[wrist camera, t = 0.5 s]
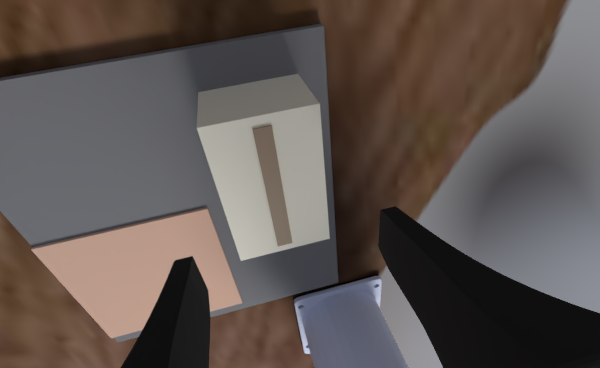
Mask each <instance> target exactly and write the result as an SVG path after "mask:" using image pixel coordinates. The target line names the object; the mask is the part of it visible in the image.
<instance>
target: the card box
mask: <svg viewBox="0 0 600 368" xmlns="http://www.w3.org/2000/svg"><path fill="white" fill-rule="evenodd" d="M197 131H198V134H199V137H200V140H201V143H202V146H203V149H204V152H205V155H206V158H207V161H208V164H209V167H210V170H211V173H212V176H213V179H214V182H215V185H216V188H217V191H218V194H219V197H220V200H221V203H222V206H223V209H224V212H225V215H226V218H227V221H228V224H229V227H230V230H231V233H232V236H233V239H234V242H235V245H236V248H237V251H238V254H239V257H240V260H241V261H243V260H247V259H251V258H255V257H259V256H263V255H267V254H271V253H275V252H279V251H283V250H287V249H290V248H294V247H298V246H302V245H306V244H310V243H314V242H318V241H322V240H326V239H330V235H329V221H328V207H327V194H326V180H325V167H324V153H323V139H322V126H321V112H320V103H319V102H318V100H317V99H316V97H315V96H314V95H313V93H312V92H311V91H310V89H309V88H308V87H307V85H306V84H305V83H304V81H303V80H302V79H301V77H300V76H299V74H293V75H288V76H283V77H277V78H272V79H266V80H261V81H256V82H250V83H245V84H240V85H234V86H229V87H224V88H218V89H213V90H208V91H202V92H198V110H197Z"/></svg>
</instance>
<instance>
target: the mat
mask: <svg viewBox="0 0 600 368" xmlns="http://www.w3.org/2000/svg"><path fill="white" fill-rule="evenodd" d="M293 74H299V76H300V77H301V79H302V80H303V81H304V83H305V84H306V85H307V87H308V88H309V89H310V91H311V92H312V93H313V95H314V96H315V97H316V99H317V100H318V102H319V103H320V112H321V126H322V139H323V153H324V167H325V180H326V194H327V207H328V221H329V235H330V239H326V240H322V241H318V242H314V243H310V244H306V245H302V246H298V247H294V248H290V249H287V250H283V251H279V252H275V253H271V254H267V255H263V256H259V257H255V258H251V259H247V260H243V261H241V260H240V257H239V254H238V251H237V248H236V245H235V242H234V239H233V236H232V233H231V230H230V227H229V224H228V221H227V218H226V215H225V212H224V209H223V206H222V203H221V200H220V197H219V194H218V191H217V188H216V185H215V182H214V179H213V176H212V173H211V170H210V167H209V164H208V161H207V158H206V155H205V152H204V149H203V146H202V143H201V140H200V137H199V134H198V131H197V110H198V92H202V91H208V90H213V89H218V88H224V87H229V86H234V85H240V84H245V83H250V82H256V81H261V80H266V79H272V78H277V77H283V76H288V75H293ZM0 211H1V212H2V213H3V215H4V216H5V217H6V218H7V219H8V220H9V221H10V222H11V223H12V225H13V226H14V227H15V228H16V229H17V230H18V231H19V232H20V234H21V235H22V236H23V237H24V238H25V239H26V240H27V241H28V243H29V244H30V245H31V246H32V249H31V250H32V251H33V252H34V253H35V254H36V256H37V257H38V258H39V259H40V260H41V261H42V262H43V263H44V264H45V266H46V267H47V268H48V269H49V270H50V271H51V272H52V273H53V274H54V276H55V277H56V278H57V279H58V280H59V281H60V282H61V283H62V284H63V286H64V287H65V288H66V289H67V290H68V291H69V292H70V293H71V294H72V295H73V297H74V298H75V299H76V300H77V301H78V302H79V303H80V304H81V305H82V307H83V308H84V309H85V310H86V311H87V312H88V313H89V314H90V315H91V317H92V318H93V319H94V320H95V321H96V322H97V323H98V324H99V325H100V326H101V328H102V329H103V330H104V331H105V332H106V333H107V334H108V335H109V336H110V338H114V339H115V340H116V341H117V342H121V341H125V340H129V339H132V338H136V337H139V335H140V333H141V332H142V330H143V328H144V326H145V324H146V322H147V320H148V318H149V316H150V314H151V312H152V310H153V308H154V306H155V304H156V302H157V300H158V298H159V295H160V293H161V291H162V289H163V287H164V284H165V282H166V280H167V277H168V275H169V272H170V270H171V268H172V265H173V263H174V261H175V260H178V259H182V258H186V257H190V256H193V258H194V260H195V262H196V264H197V267H198V269H199V271H200V273H201V275H202V278H203V280H204V282H205V284H206V286H207V289H208V293H209V304H210V317H213V316H217V315H221V314H225V313H228V312H232V311H236V310H239V309H243V308H247V307H250V306H254V305H258V304H261V303H265V302H269V301H273V300H276V299H280V298H284V297H287V296H291V295H295V294H298V293H302V292H306V291H309V290H313V289H317V288H320V287H324V286H328V285H332V284H335V283H338V265H337V247H336V230H335V212H334V194H333V177H332V159H331V142H330V124H329V106H328V89H327V71H326V53H325V36H324V26H323V25H322V24H315V25H309V26H303V27H297V28H291V29H285V30H279V31H273V32H268V33H262V34H256V35H250V36H244V37H238V38H232V39H226V40H220V41H214V42H208V43H202V44H197V45H191V46H185V47H179V48H173V49H167V50H161V51H155V52H149V53H143V54H137V55H131V56H125V57H120V58H114V59H108V60H102V61H96V62H90V63H84V64H78V65H72V66H66V67H60V68H54V69H49V70H43V71H37V72H31V73H25V74H19V75H13V76H7V77H1V78H0Z"/></svg>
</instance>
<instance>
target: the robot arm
mask: <svg viewBox="0 0 600 368" xmlns="http://www.w3.org/2000/svg"><path fill="white" fill-rule="evenodd" d="M378 246H379V249H380V251H381V253H382V256H383V258H384V260H385V262H386V264H387V266H388V269H389V270H390V272H391V274H392V275H393V277H394V279H395V280H396V282H397V284H398V285H399V287H400V289H401V290H402V292H403V293H404V295H405V297H406V298H407V300H408V301H409V303H410V305H411V306H412V308H413V310H414V311H415V313H416V315H417V316H418V318H419V320H420V322H421V323H422V325H423V327H424V329H425V330H426V333H427V335H428V337H429V339H430V341H431V343H432V345H433V347H434V349H435V351H436V353H437V355H438V357H439V360H440V362H441V364H442V366H443V368H600V313H597V312H594V311H591V310H588V309H585V308H582V307H579V306H576V305H573V304H570V303H568V302H565V301H562V300H560V299H557V298H555V297H552V296H550V295H547V294H545V293H542V292H540V291H537V290H535V289H533V288H530V287H528V286H526V285H524V284H522V283H519V282H517V281H515V280H513V279H510V278H508V277H506V276H504V275H502V274H500V273H498V272H496V271H494V270H493V269H491V268H489V267H486V266H485V265H483V264H481V263H479V262H477V261H476V260H474V259H472V258H470V257H469V256H467V255H465V254H464V253H462V252H460V251H459V250H457V249H456V248H454V247H452V246H451V245H449V244H448V243H446V242H445V241H443V240H442V239H440V238H439V237H437V236H436V235H434V234H433V233H432V232H430V231H429V230H427V229H426V228H424V227H423V226H422V225H420V224H419V223H417V222H416V221H415V220H413V219H412V218H411V217H409V216H408V215H407V214H405V213H404V212H402V211H401V210H400V209H398V208H397V207H391V208H387V209H383V210H381V211H380V228H379V244H378ZM381 285H382V279H381V278H380V276H373V277H369V278H366V279H362V280H358V281H355V282H351V283H347V284H344V285H340V286H336V287H333V288H329V289H325V290H322V291H318V292H314V293H311V294H307V295H303V296H300V297H297V298H295V300H294V306H295V310H296V315H297V320H298V325H299V330H300V335H301V340H302V345H303V349H304V353H306V354H309V353H310V354H311V357H312V361H313V365H314V368H408V366H407V364H406V362H405V360H404V357H403V355H402V353H401V351H400V349H399V347H398V345H397V343H396V341H395V339H394V337H393V335H392V333H391V331H390V329H389V327H388V324H387V322H386V320H385V318H384V316H383V314H382V312H381V310H380V298H381ZM209 345H210V304H209V293H208V289H207V286H206V284H205V282H204V280H203V278H202V275H201V273H200V271H199V269H198V267H197V264H196V262H195V260H194V258H193V256H190V257H186V258H182V259H178V260H175V261H174V263H173V265H172V268H171V270H170V272H169V275H168V277H167V280H166V282H165V284H164V287H163V289H162V291H161V293H160V295H159V298H158V300H157V302H156V304H155V306H154V308H153V310H152V312H151V314H150V316H149V318H148V320H147V322H146V324H145V326H144V328H143V330H142V332H141V333H140V335H139V337H138V339H137V341H136V343H135V345H134V346H133V348H132V350H131V351H130V353H129V355H128V357H127V358H126V360H125V362H124V363H123V365H122V366H121V368H209Z"/></svg>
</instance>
